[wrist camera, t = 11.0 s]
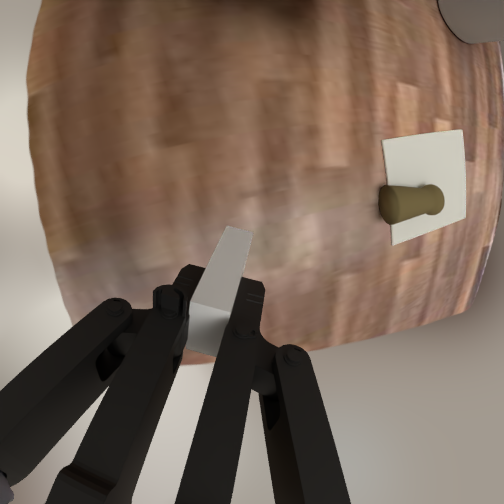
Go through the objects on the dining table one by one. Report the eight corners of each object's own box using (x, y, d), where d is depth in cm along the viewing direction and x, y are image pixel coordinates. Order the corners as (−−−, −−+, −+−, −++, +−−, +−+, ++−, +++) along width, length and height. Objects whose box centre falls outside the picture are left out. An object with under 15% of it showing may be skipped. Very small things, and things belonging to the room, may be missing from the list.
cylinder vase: (430, 11, 29) (533, -12, 6) (442, -19, 25) (529, -41, 3) (470, 55, 33) (570, 56, 10) (479, 23, 29) (565, 17, 6)
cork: (398, 186, 36) (449, 182, 37) (377, 184, 42) (426, 180, 43) (400, 228, 37) (450, 219, 38) (379, 221, 43) (427, 213, 44)
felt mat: (391, 244, 46) (392, 245, 46) (381, 140, 38) (382, 140, 38) (464, 217, 47) (465, 217, 46) (460, 129, 39) (462, 129, 39)
